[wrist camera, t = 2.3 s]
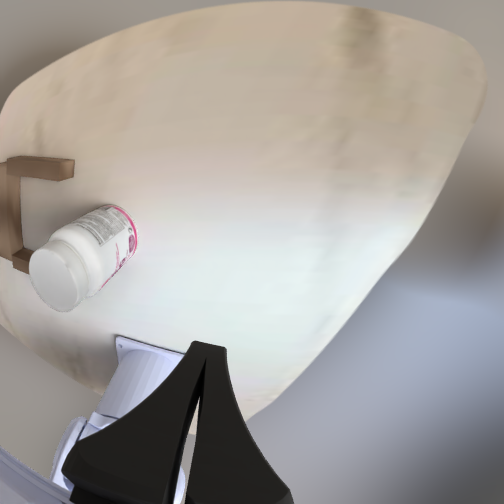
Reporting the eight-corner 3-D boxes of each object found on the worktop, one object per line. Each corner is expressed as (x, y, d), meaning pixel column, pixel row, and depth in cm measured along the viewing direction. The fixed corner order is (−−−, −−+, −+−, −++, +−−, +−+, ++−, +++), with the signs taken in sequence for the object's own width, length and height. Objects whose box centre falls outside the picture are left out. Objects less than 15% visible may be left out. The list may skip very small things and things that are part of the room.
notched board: (74, 278, 21) (63, 288, 20) (9, 253, 21) (-2, 260, 19) (74, 160, 17) (59, 163, 16) (5, 155, 17) (-9, 158, 15)
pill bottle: (128, 270, 21) (76, 332, 13) (85, 241, 20) (21, 289, 12) (149, 223, 19) (90, 273, 12) (101, 193, 18) (28, 226, 11)
